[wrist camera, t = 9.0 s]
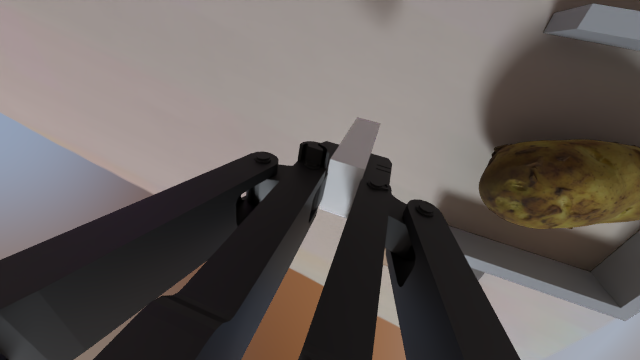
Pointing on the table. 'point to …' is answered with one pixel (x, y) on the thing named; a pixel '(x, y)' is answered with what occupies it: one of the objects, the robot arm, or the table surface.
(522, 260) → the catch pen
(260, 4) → the table surface
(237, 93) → the table surface
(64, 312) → the robot arm
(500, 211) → the potato
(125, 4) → the table surface
